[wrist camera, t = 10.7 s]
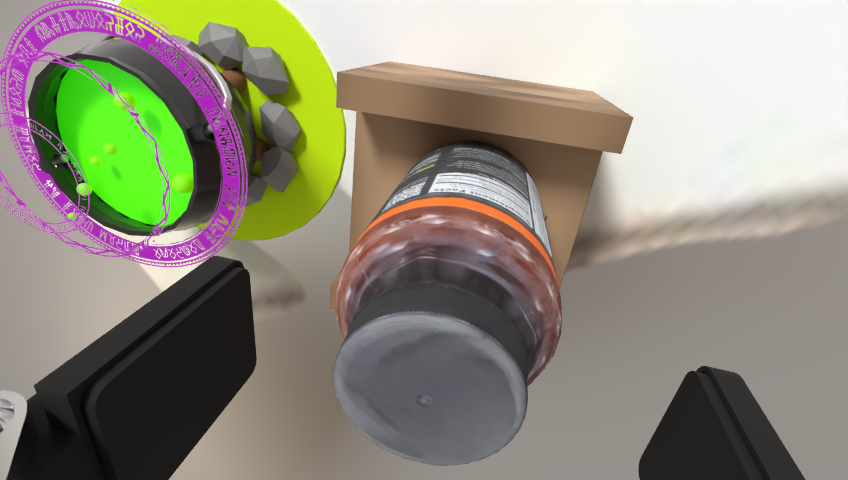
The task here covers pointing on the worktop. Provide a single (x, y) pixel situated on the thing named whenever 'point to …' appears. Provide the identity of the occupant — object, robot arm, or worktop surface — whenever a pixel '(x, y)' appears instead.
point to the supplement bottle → (448, 308)
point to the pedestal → (477, 137)
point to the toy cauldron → (180, 122)
